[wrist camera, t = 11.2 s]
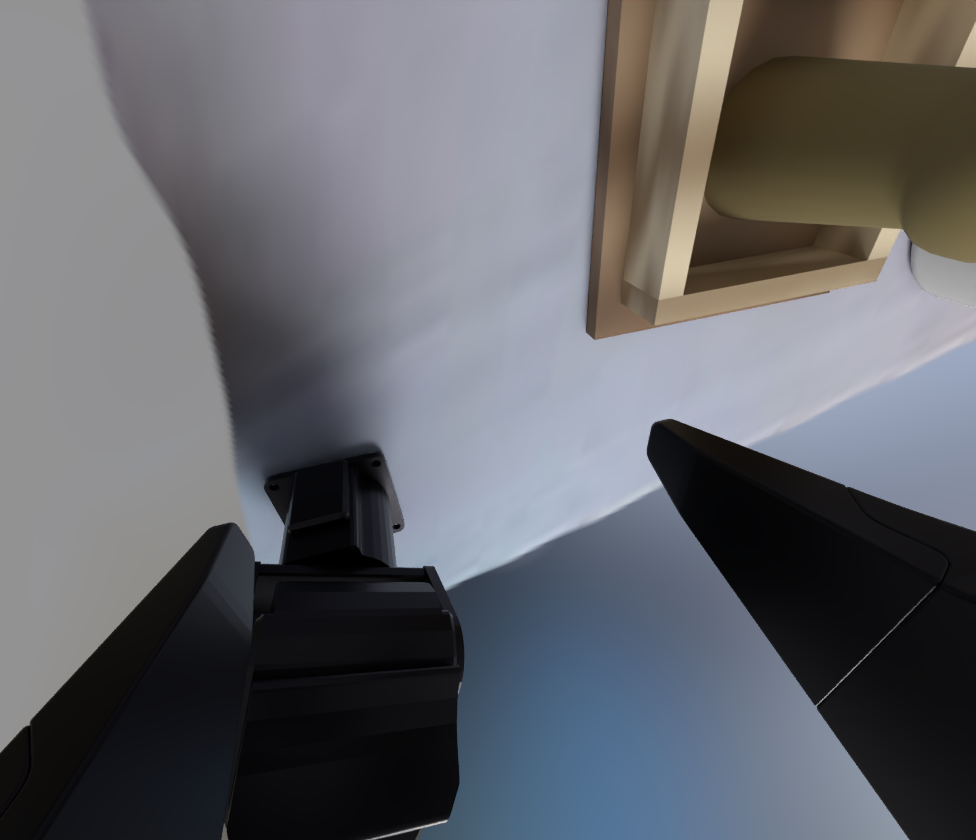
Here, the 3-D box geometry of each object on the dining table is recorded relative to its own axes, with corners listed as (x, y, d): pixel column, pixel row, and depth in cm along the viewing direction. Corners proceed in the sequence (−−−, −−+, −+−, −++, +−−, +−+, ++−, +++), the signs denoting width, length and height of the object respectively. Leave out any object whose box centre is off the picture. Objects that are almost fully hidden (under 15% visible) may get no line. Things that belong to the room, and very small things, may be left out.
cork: (705, 80, 17) (1090, 38, 8) (840, 35, 17) (1347, -49, 8) (695, 235, 20) (949, 322, 12) (805, 196, 21) (1131, 252, 12)
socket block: (814, 287, 25) (879, 310, 22) (586, 332, 23) (623, 366, 20) (977, -129, 16) (1132, -190, 13) (616, -128, 13) (698, -202, 10)
